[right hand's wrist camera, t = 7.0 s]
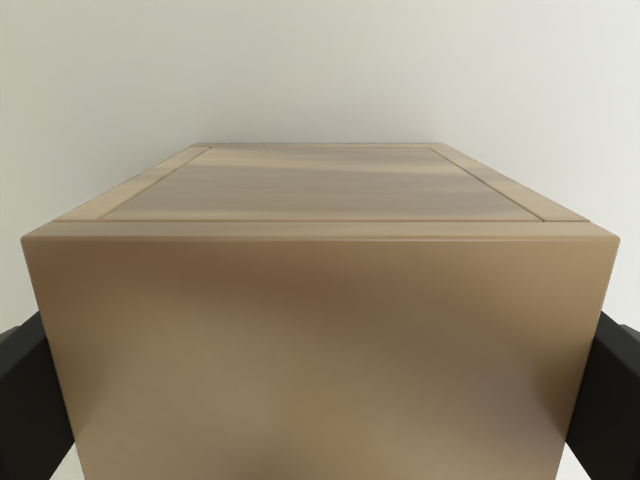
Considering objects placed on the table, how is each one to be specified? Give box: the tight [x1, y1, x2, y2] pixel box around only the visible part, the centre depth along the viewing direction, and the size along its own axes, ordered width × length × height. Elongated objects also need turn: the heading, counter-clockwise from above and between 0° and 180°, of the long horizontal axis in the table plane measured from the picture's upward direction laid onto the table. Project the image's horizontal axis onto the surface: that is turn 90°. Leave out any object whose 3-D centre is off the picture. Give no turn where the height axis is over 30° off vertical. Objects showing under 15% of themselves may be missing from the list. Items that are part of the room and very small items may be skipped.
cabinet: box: [21, 144, 620, 480], centre depth 16 cm, size 17×11×11 cm, turn 0°
